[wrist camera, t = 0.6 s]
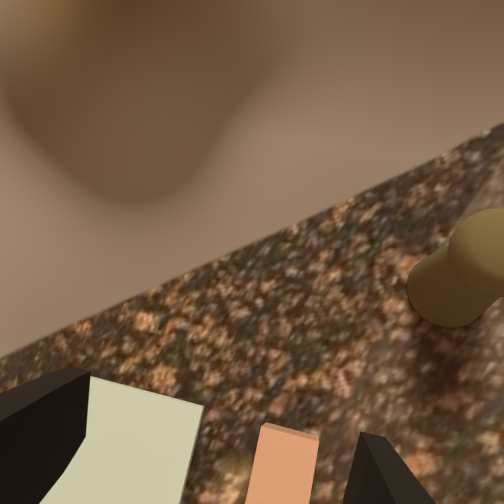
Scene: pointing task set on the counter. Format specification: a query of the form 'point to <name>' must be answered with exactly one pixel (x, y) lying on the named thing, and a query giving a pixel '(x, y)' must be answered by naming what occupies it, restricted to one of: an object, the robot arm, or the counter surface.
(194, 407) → the baseplate
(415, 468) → the counter surface
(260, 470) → the terracotta brick
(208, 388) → the counter surface
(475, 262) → the olive pawn piece
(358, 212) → the counter surface
